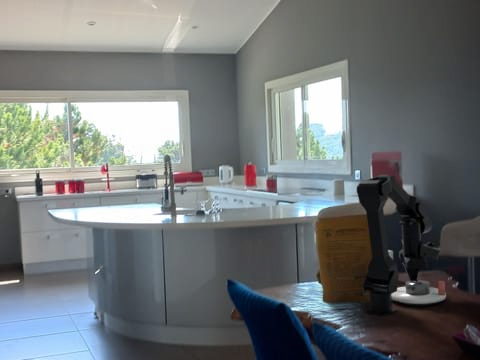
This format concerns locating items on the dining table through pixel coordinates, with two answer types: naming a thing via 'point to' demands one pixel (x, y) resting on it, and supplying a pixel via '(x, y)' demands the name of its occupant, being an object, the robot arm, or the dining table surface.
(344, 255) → the pancake mix bag
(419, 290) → the cover
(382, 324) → the dining table surface
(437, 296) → the platter
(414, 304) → the turntable base
